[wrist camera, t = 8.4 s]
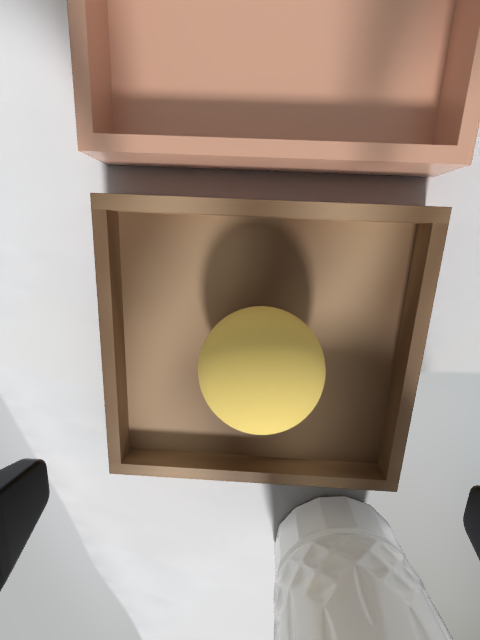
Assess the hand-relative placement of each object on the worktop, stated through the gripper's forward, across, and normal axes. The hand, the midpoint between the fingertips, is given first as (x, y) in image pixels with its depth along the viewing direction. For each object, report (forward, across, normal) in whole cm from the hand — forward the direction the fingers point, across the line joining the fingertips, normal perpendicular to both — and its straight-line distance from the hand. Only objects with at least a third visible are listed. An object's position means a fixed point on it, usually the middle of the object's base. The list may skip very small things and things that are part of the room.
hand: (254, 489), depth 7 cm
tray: (+10, 0, 0) cm, 10 cm away
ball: (+9, 0, 0) cm, 9 cm away
